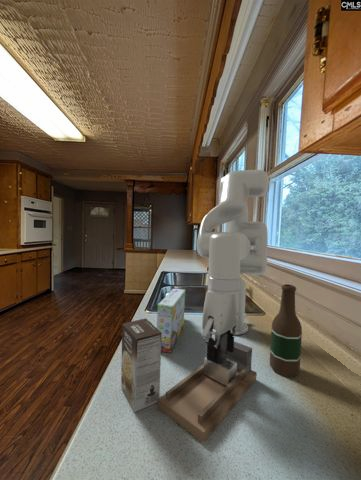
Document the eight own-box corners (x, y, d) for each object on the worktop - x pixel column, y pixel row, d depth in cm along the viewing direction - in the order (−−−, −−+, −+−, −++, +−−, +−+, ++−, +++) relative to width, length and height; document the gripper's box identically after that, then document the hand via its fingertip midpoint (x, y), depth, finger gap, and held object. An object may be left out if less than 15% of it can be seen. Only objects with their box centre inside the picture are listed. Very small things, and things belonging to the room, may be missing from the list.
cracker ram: (212, 366, 61) (213, 326, 61) (236, 378, 57) (238, 334, 56) (203, 373, 58) (205, 331, 58) (228, 386, 54) (230, 340, 53)
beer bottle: (301, 381, 60) (307, 290, 59) (269, 373, 63) (274, 287, 62) (297, 365, 68) (302, 284, 66) (269, 359, 70) (273, 281, 69)
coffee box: (119, 387, 56) (120, 322, 55) (144, 378, 59) (145, 317, 59) (133, 413, 48) (135, 338, 47) (161, 402, 52) (163, 331, 51)
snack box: (172, 353, 72) (173, 306, 71) (154, 351, 73) (156, 304, 72) (184, 326, 92) (185, 288, 92) (170, 324, 94) (172, 287, 93)
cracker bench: (216, 361, 68) (217, 335, 68) (256, 379, 60) (257, 350, 60) (157, 408, 50) (158, 372, 50) (203, 442, 42) (204, 400, 42)
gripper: (227, 276, 65) (224, 338, 66) (189, 287, 52) (186, 364, 53) (252, 281, 61) (249, 348, 62) (218, 294, 47) (214, 379, 48)
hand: (220, 355), depth 57 cm, fingers open, 6 cm apart
